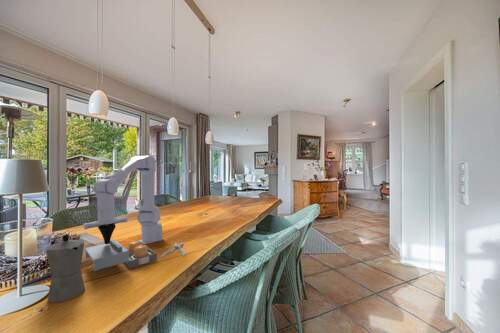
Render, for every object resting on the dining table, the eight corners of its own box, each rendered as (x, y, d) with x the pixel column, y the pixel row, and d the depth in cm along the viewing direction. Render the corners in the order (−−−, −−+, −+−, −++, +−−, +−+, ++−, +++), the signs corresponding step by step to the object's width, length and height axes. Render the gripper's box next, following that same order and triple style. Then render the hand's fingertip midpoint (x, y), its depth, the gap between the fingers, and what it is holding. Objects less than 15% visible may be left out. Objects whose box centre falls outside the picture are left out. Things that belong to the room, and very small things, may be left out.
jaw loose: (139, 252, 97) (138, 240, 97) (141, 255, 94) (141, 242, 94) (127, 255, 95) (127, 242, 94) (130, 258, 91) (129, 245, 91)
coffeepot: (96, 291, 68) (94, 233, 68) (58, 309, 60) (56, 242, 60) (71, 280, 76) (69, 227, 76) (34, 294, 67) (32, 235, 67)
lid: (117, 250, 94) (116, 237, 94) (128, 261, 82) (128, 246, 82) (85, 258, 86) (85, 244, 86) (93, 271, 75) (93, 255, 75)
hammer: (159, 255, 93) (168, 243, 108) (159, 259, 93) (168, 246, 108) (184, 253, 94) (189, 241, 109) (184, 257, 94) (189, 244, 109)
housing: (144, 251, 101) (143, 244, 101) (157, 260, 90) (157, 253, 90) (119, 258, 94) (119, 250, 94) (130, 269, 83) (130, 261, 83)
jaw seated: (145, 257, 92) (144, 244, 92) (149, 260, 89) (148, 246, 89) (133, 260, 89) (133, 247, 89) (137, 264, 86) (137, 250, 86)
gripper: (85, 213, 81) (86, 251, 81) (129, 207, 91) (130, 241, 91) (82, 211, 86) (83, 246, 86) (124, 205, 96) (124, 237, 96)
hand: (107, 243), depth 89 cm, fingers closed
